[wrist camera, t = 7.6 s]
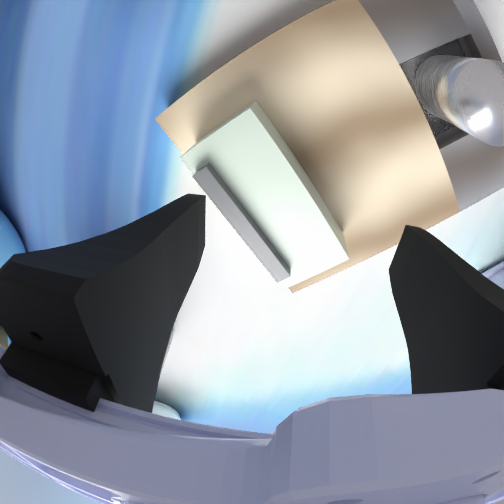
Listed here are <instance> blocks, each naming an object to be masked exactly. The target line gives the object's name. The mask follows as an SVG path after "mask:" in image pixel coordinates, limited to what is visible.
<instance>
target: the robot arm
mask: <svg viewBox="0 0 504 504" xmlns="http://www.w3.org/2000/svg"><path fill="white" fill-rule="evenodd" d="M205 202H206V195H196V194H187V195H184V196H182V197H180V198H178V199H176V200H174V201H172V202H171V203H169V204H167V205H165V206H163V207H161V208H160V209H158V210H156V211H154V212H152V213H150V214H148V215H146V216H144V217H142V218H140V219H138V220H136V221H134V222H132V223H130V224H128V225H125V226H123V227H121V228H118V229H116V230H113V231H111V232H108V233H105V234H103V235H99V236H96V237H93V238H90V239H87V240H84V241H80V242H77V243H73V244H69V245H65V246H60V247H56V248H51V249H46V250H39V251H33V252H26V253H18V254H14V255H12V256H11V257H10V258H9V260H8V261H7V262H6V263H5V264H4V265H3V266H2V267H1V268H0V323H1V325H2V327H3V328H4V330H5V332H6V334H7V335H8V337H9V339H10V340H11V344H10V345H9V347H8V348H7V350H6V349H5V348H4V347H3V346H2V345H1V344H0V450H2V451H4V452H5V453H7V454H8V455H10V456H11V457H13V458H14V459H16V460H18V461H19V462H21V463H23V464H24V465H26V466H28V467H29V468H31V469H33V470H34V471H36V472H38V473H40V474H42V475H43V476H45V477H47V478H49V479H51V480H53V481H55V482H57V483H59V484H61V485H63V486H65V487H67V488H69V489H71V490H73V491H75V492H77V493H79V494H82V495H84V496H86V497H88V498H91V499H93V500H95V501H98V502H100V503H103V504H494V503H496V502H498V501H501V500H503V499H504V261H503V262H501V263H500V264H498V265H496V266H494V267H493V268H491V269H489V270H487V271H485V272H484V273H482V274H481V273H480V272H478V271H477V270H476V269H475V268H473V267H472V266H471V265H470V264H468V263H467V262H466V261H464V260H463V259H462V258H461V257H459V256H458V255H457V254H456V253H455V252H453V251H452V250H451V249H450V248H448V247H447V246H446V245H445V244H443V243H442V242H441V241H440V240H438V239H437V238H436V237H434V236H433V235H432V234H430V233H429V232H427V231H426V230H424V229H422V228H420V227H416V226H410V225H405V228H404V231H403V233H402V236H401V239H400V242H399V244H398V247H397V250H396V252H395V255H394V258H393V260H392V263H391V265H390V268H389V275H390V282H391V288H392V293H393V296H394V300H395V303H396V307H397V310H398V314H399V317H400V320H401V324H402V327H403V331H404V335H405V338H406V343H407V347H408V353H409V361H410V370H411V383H412V394H401V395H373V394H366V395H357V396H347V397H335V398H329V399H326V400H323V401H320V402H317V403H313V404H310V405H307V406H304V407H301V408H298V409H297V410H296V411H294V412H293V413H292V414H291V415H289V416H288V417H287V418H286V419H285V420H284V421H283V422H281V423H280V424H279V425H278V426H277V427H276V430H275V432H274V434H266V433H257V432H249V431H241V430H234V429H228V428H221V427H215V426H209V425H204V424H199V423H194V422H189V421H184V420H179V419H175V418H170V417H166V416H162V415H158V414H154V413H152V410H153V405H154V400H155V395H156V390H157V386H158V381H159V377H160V373H161V369H162V365H163V361H164V357H165V353H166V349H167V346H168V342H169V339H170V335H171V332H172V329H173V325H174V322H175V320H176V317H177V315H178V312H179V310H180V308H181V305H182V303H183V301H184V299H185V296H186V294H187V292H188V290H189V288H190V285H191V283H192V281H193V279H194V276H195V274H196V272H197V270H198V267H199V264H200V261H201V257H202V254H203V250H204V247H205Z"/></svg>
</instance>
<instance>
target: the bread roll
mask: <svg viewBox="0 0 504 504" xmlns="http://www.w3.org/2000/svg"><path fill="white" fill-rule="evenodd" d="M0 344H1V345H2V346H3V347H4V348H5V349H6V350H7V348H8V335H7V334H6V332H5V330H4V328H3V327H2V326H1V325H0Z"/></svg>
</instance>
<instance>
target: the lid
mask: <svg viewBox="0 0 504 504" xmlns="http://www.w3.org/2000/svg"><path fill="white" fill-rule="evenodd" d="M180 159H181V160H182V161H183V162H184V164H185V165H186V166H187V167H188V169H189V170H190V171H191V172H192V174H193V176H192V177H193V178H194V179H195V180H196V182H197V183H198V184H199V185H200V187H201V188H202V189H203V190H204V191H205V193H206V194H207V195H208V196H209V198H210V199H211V200H212V201H213V203H214V204H215V205H216V206H217V208H218V209H219V210H220V211H221V213H222V214H223V215H224V216H225V218H226V219H227V220H228V221H229V223H230V224H231V225H232V226H233V228H234V229H235V230H236V231H237V233H238V234H239V235H240V236H241V238H242V239H243V240H244V241H245V243H246V244H247V245H248V246H249V248H250V249H251V250H252V251H253V253H254V254H255V255H256V256H257V258H258V259H259V260H260V261H261V263H262V264H263V265H264V266H265V268H266V269H267V270H268V271H269V273H270V274H271V275H272V276H273V278H274V279H275V280H276V281H277V283H278V282H279V283H280V284H281V285H282V287H283V288H284V289H286V288H288V287H291V286H293V285H295V284H297V283H299V282H302V281H304V280H306V279H308V278H310V277H313V276H315V275H317V274H319V273H321V272H323V271H325V270H328V269H330V268H332V267H334V266H336V265H338V264H340V263H342V262H345V261H347V260H349V255H348V251H347V247H346V242H345V238H344V234H343V232H342V230H341V229H340V227H339V225H338V224H337V222H336V220H335V219H334V217H333V215H332V214H331V212H330V210H329V209H328V207H327V206H326V204H325V202H324V201H323V199H322V197H321V196H320V194H319V193H318V191H317V189H316V188H315V186H314V185H313V183H312V182H311V180H310V178H309V177H308V175H307V174H306V172H305V171H304V169H303V168H302V166H301V165H300V163H299V162H298V160H297V159H296V157H295V156H294V154H293V153H292V151H291V150H290V148H289V147H288V145H287V144H286V142H285V141H284V139H283V138H282V136H281V135H280V134H279V132H278V131H277V129H276V128H275V126H274V125H273V124H272V122H271V121H270V119H269V118H268V116H267V115H266V114H265V112H264V111H263V109H262V108H261V107H260V105H259V104H258V103H257V101H255V102H254V103H252V104H251V105H249V106H248V107H246V108H245V109H243V110H242V111H240V112H239V113H237V114H236V115H234V116H233V117H231V118H230V119H228V120H227V121H225V122H224V123H222V124H221V125H220V126H218V127H217V128H215V129H214V130H213V131H211V132H210V133H208V134H207V135H206V136H204V137H203V138H201V139H200V140H199V141H197V142H196V143H195V144H194V145H193V146H192V147H190V148H189V149H188V150H187V151H186V152H185V153H184V154H183V155H182V156H181V157H180Z"/></svg>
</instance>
